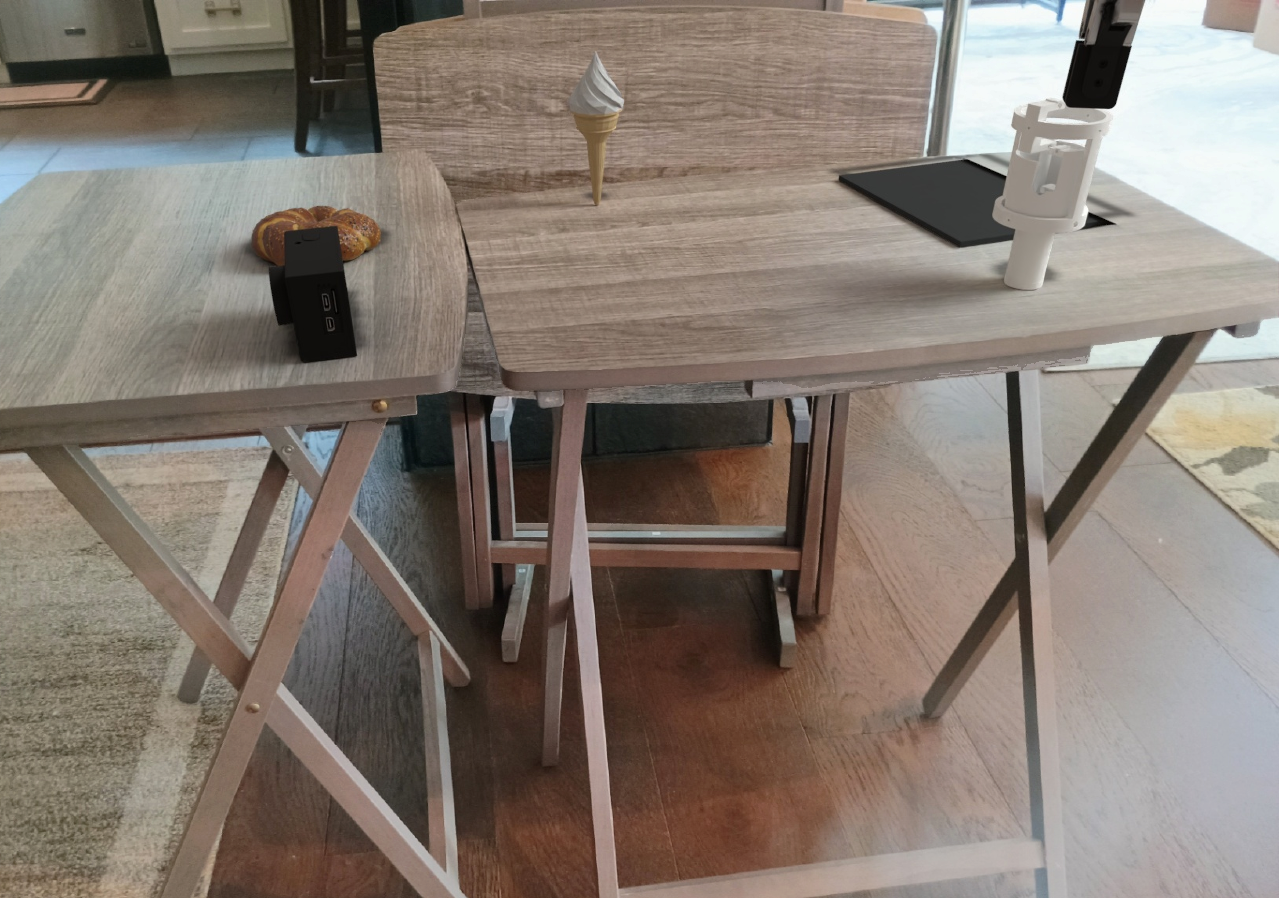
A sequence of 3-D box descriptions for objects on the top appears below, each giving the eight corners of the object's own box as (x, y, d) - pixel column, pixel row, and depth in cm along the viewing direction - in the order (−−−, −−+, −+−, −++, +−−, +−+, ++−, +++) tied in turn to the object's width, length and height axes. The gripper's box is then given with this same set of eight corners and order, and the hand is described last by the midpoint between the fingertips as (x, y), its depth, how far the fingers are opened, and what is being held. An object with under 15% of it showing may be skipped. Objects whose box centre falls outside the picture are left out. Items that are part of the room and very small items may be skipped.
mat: (1122, 223, 99) (1123, 217, 98) (959, 247, 95) (960, 241, 94) (980, 162, 116) (981, 156, 116) (838, 180, 112) (838, 174, 112)
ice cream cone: (623, 195, 110) (624, 43, 101) (624, 213, 105) (625, 55, 97) (570, 196, 110) (567, 45, 101) (569, 214, 105) (565, 56, 97)
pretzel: (386, 228, 103) (381, 191, 101) (378, 268, 94) (372, 229, 92) (265, 234, 103) (258, 197, 101) (245, 275, 94) (236, 235, 92)
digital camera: (284, 312, 87) (268, 230, 83) (349, 304, 88) (337, 223, 84) (285, 365, 78) (267, 277, 74) (357, 356, 79) (343, 269, 75)
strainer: (961, 277, 89) (997, 94, 80) (1019, 261, 91) (1060, 82, 83) (1027, 305, 83) (1073, 112, 75) (1086, 287, 86) (1138, 99, 78)
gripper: (1281, -225, 54) (1171, 136, 64) (1208, -221, 66) (1126, 83, 76) (1125, -221, 55) (1042, 131, 66) (1082, -218, 67) (1018, 79, 78)
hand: (1087, 104), depth 71 cm, fingers closed
